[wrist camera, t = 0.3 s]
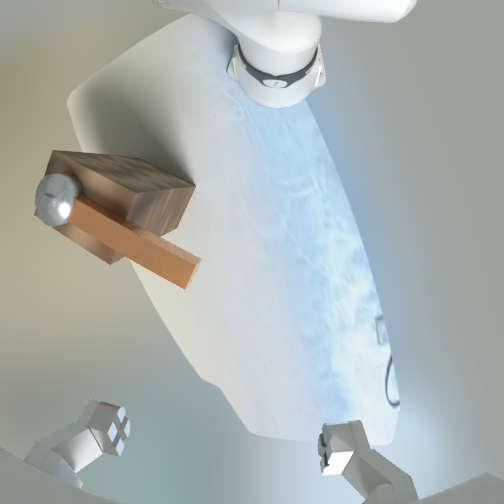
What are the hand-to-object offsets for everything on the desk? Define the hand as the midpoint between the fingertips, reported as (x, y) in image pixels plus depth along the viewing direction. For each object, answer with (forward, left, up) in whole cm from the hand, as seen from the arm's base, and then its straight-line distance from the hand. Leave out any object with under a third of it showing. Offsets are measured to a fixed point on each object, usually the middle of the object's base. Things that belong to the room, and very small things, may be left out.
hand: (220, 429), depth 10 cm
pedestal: (-6, -21, -47) cm, 52 cm away
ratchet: (-4, -16, -21) cm, 27 cm away
